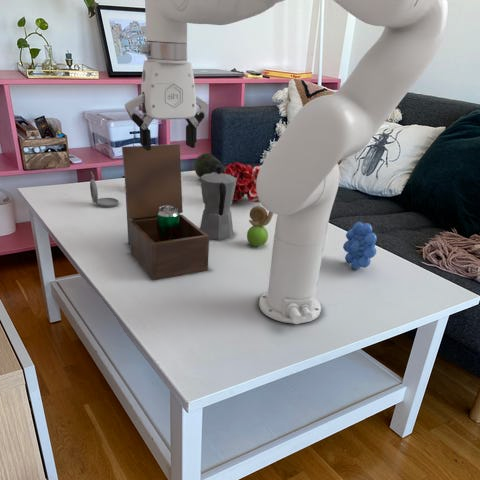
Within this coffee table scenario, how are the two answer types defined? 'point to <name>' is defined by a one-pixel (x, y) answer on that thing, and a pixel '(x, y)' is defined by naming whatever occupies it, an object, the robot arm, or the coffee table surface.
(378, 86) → the robot arm
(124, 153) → the lid
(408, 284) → the coffee table surface
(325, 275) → the coffee table surface
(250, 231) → the snail figurine
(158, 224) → the soda can
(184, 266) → the chest
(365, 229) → the grapes
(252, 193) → the carnation
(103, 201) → the pocket watch
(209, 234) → the coffeepot
